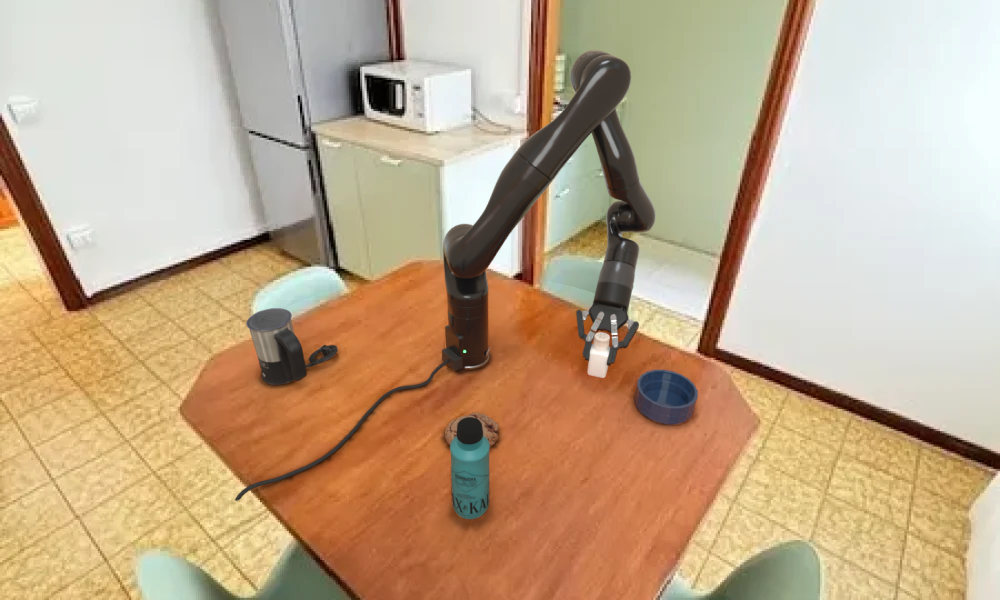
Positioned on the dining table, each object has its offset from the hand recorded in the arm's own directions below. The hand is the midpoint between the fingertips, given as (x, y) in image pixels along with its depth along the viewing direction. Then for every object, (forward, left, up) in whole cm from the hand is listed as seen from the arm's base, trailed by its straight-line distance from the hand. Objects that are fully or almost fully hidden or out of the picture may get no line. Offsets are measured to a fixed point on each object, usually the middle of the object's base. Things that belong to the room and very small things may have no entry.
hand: (597, 362), depth 113 cm
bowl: (+9, -12, -9) cm, 17 cm away
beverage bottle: (-38, -8, -9) cm, 40 cm away
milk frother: (-47, +48, -9) cm, 68 cm away
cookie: (-28, +6, -9) cm, 30 cm away
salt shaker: (+2, +1, -4) cm, 5 cm away
